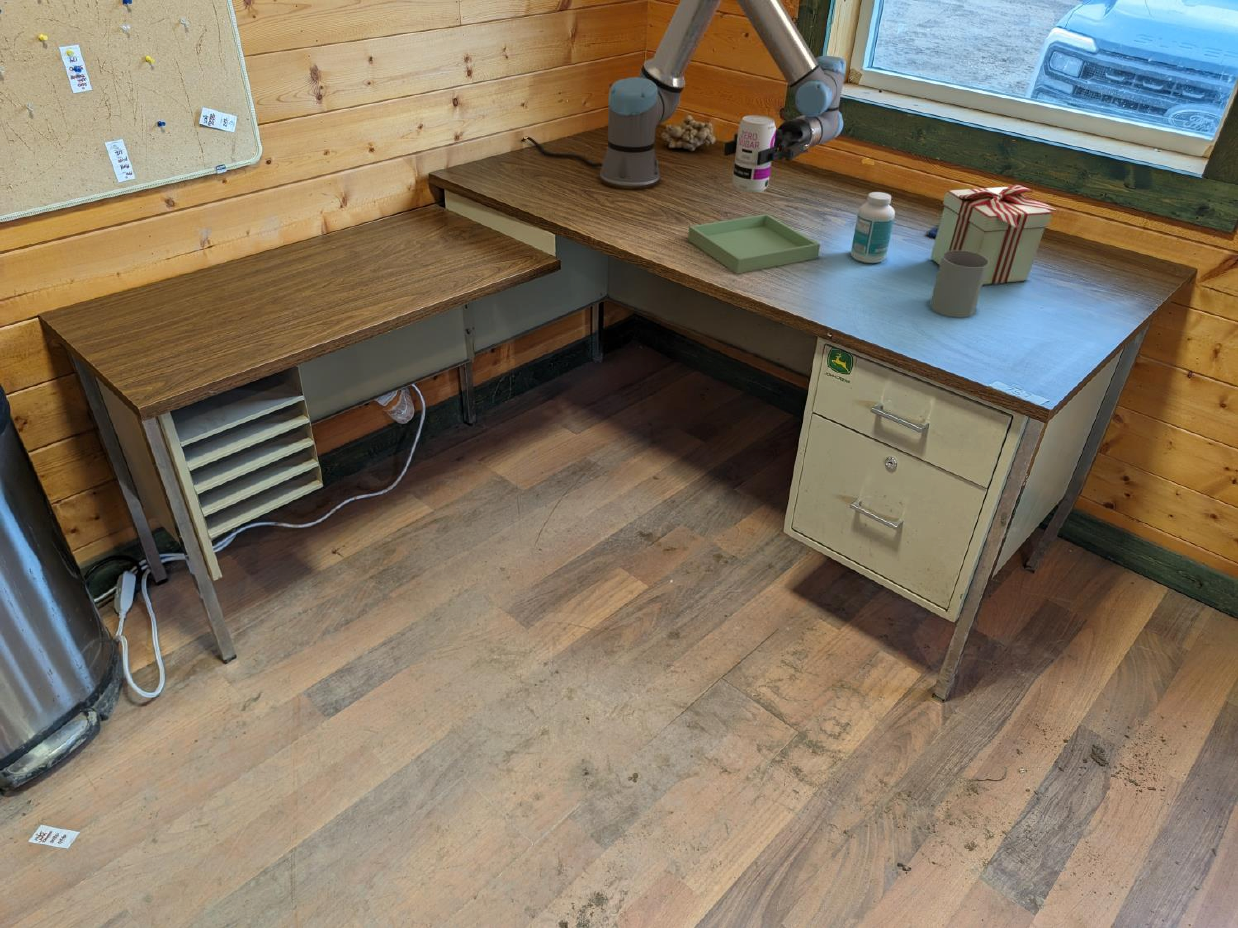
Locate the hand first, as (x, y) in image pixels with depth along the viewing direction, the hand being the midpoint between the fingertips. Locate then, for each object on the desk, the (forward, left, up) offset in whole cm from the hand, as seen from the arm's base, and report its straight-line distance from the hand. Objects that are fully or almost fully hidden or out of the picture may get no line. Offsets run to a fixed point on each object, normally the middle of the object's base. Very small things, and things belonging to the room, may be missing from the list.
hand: (742, 154), depth 194 cm
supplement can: (-2, +4, -9) cm, 10 cm away
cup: (+54, +14, -16) cm, 58 cm away
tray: (+15, -5, -16) cm, 22 cm away
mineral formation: (-54, +20, -16) cm, 60 cm away
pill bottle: (+28, +15, -16) cm, 36 cm away
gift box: (+44, +33, -16) cm, 58 cm away
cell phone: (+24, +44, -16) cm, 53 cm away
